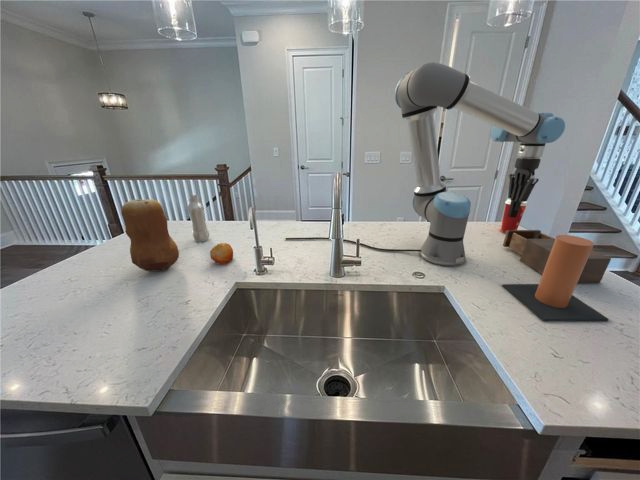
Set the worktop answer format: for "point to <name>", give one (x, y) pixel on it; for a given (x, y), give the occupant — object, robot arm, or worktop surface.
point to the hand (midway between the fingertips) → (511, 216)
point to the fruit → (222, 253)
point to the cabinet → (540, 250)
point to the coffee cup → (512, 222)
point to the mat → (548, 313)
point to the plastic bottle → (197, 219)
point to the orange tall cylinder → (563, 270)
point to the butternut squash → (149, 235)
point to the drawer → (521, 238)
